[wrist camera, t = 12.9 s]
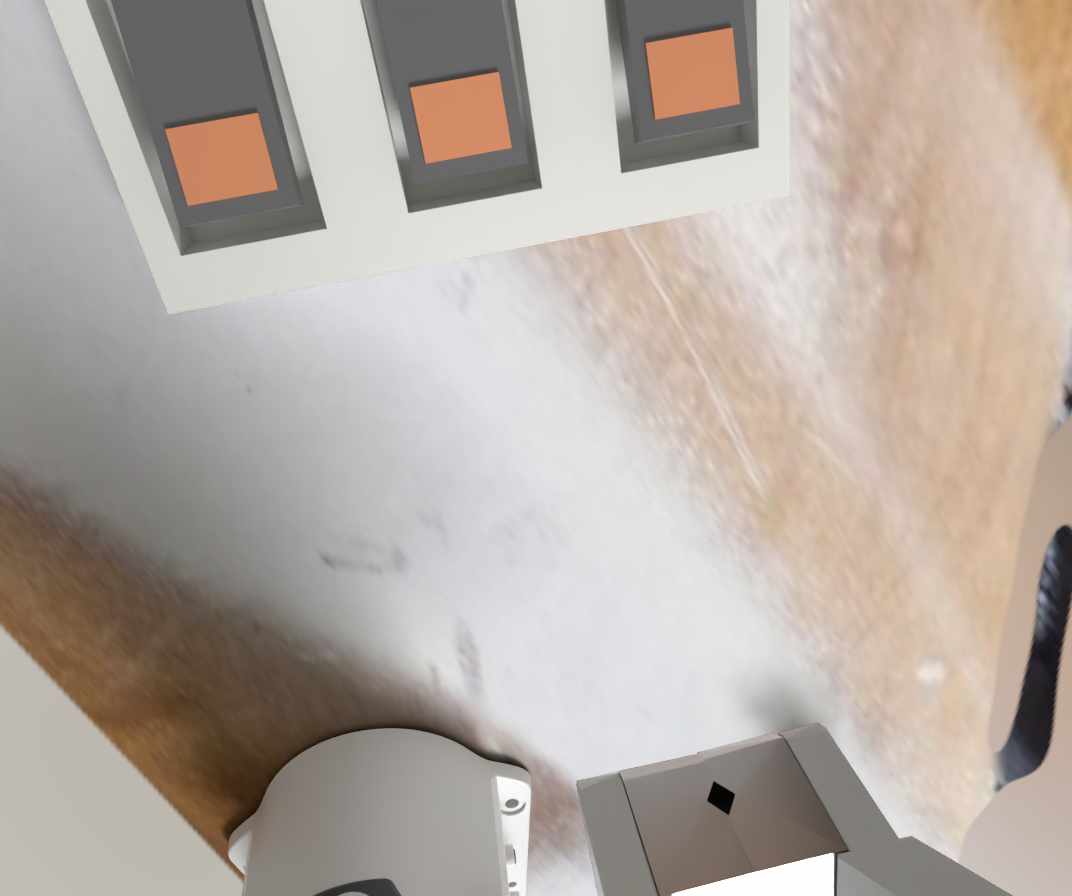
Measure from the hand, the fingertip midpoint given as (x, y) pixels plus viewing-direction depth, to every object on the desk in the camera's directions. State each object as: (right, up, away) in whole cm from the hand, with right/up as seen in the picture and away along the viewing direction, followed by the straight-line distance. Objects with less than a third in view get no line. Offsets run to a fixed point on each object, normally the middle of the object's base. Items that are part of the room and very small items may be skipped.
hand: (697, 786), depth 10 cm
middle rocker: (-5, +19, +16) cm, 26 cm away
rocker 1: (-13, +18, +16) cm, 27 cm away
